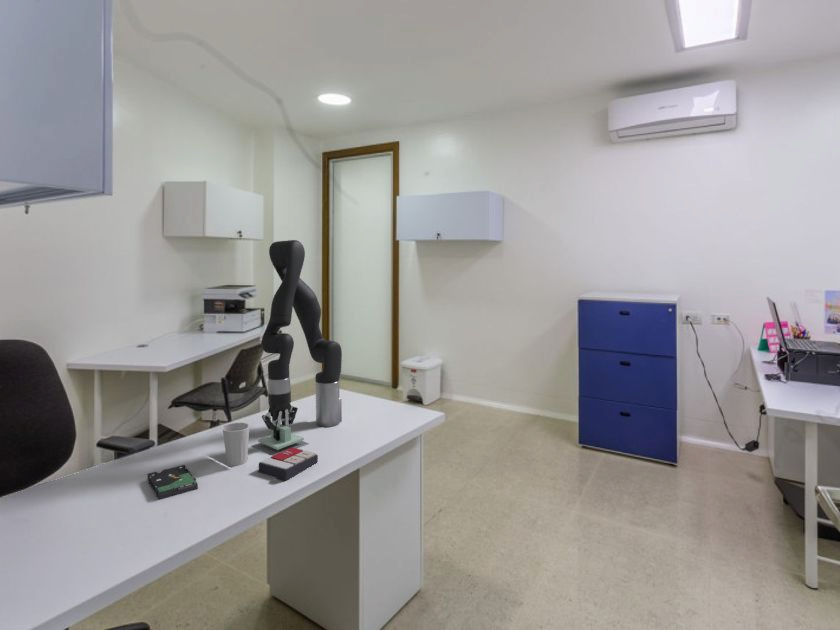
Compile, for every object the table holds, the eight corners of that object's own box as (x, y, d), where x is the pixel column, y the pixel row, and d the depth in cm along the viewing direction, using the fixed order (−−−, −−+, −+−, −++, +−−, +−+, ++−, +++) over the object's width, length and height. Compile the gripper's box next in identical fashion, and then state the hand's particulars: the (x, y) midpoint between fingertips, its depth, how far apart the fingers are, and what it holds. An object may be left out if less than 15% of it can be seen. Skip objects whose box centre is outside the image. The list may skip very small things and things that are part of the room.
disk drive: (146, 482, 142) (158, 501, 131) (146, 473, 142) (158, 492, 130) (184, 472, 149) (199, 490, 137) (184, 464, 148) (198, 480, 137)
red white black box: (318, 452, 155) (285, 468, 142) (318, 465, 155) (285, 482, 142) (292, 445, 160) (258, 460, 147) (292, 458, 160) (257, 474, 147)
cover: (284, 432, 176) (284, 418, 175) (303, 439, 169) (303, 425, 168) (258, 441, 167) (257, 427, 167) (277, 449, 161) (276, 434, 160)
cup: (218, 465, 153) (216, 428, 151) (238, 456, 160) (237, 421, 158) (236, 470, 149) (234, 433, 148) (256, 460, 156) (254, 425, 155)
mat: (284, 435, 178) (284, 434, 178) (309, 445, 169) (309, 443, 169) (251, 447, 167) (251, 445, 167) (275, 457, 159) (275, 456, 159)
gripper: (289, 384, 174) (290, 430, 176) (255, 392, 163) (257, 442, 165) (302, 387, 169) (304, 435, 171) (268, 397, 158) (270, 447, 160)
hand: (281, 438), depth 168 cm, fingers closed on cover, 2 cm apart
